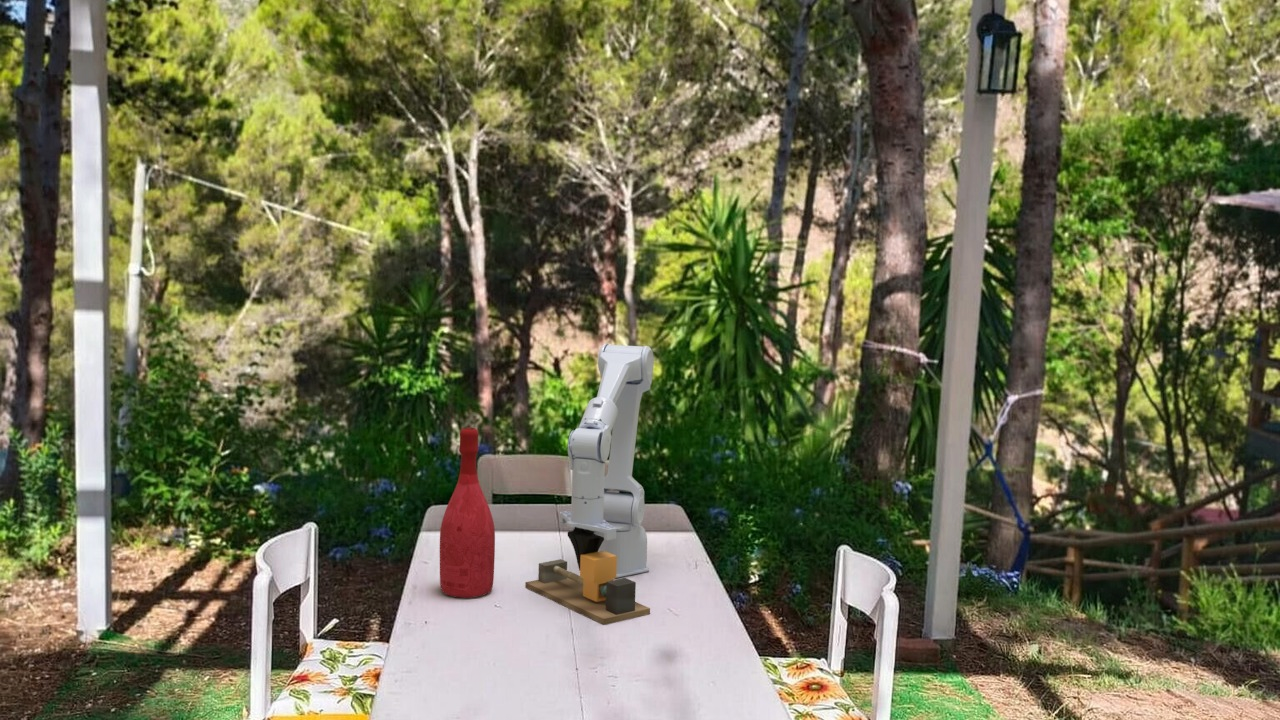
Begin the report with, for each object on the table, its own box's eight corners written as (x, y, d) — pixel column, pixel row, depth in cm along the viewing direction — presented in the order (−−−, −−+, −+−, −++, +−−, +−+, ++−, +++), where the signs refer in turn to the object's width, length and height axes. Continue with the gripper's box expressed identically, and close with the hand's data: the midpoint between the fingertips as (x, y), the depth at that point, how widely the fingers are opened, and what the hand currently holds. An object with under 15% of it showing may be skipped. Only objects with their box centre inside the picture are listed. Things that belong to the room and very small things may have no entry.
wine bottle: (503, 587, 206) (506, 426, 202) (478, 603, 196) (481, 434, 193) (455, 580, 209) (457, 421, 206) (429, 595, 200) (430, 429, 196)
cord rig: (525, 587, 206) (526, 555, 205) (569, 578, 212) (570, 547, 211) (603, 624, 187) (604, 590, 187) (650, 613, 194) (651, 580, 193)
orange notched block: (579, 596, 197) (580, 554, 196) (602, 591, 200) (603, 550, 199) (592, 602, 194) (594, 560, 193) (615, 597, 197) (617, 556, 196)
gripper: (545, 490, 201) (544, 564, 202) (593, 506, 190) (591, 584, 191) (578, 485, 205) (576, 558, 207) (626, 501, 194) (624, 577, 196)
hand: (585, 570), depth 199 cm, fingers closed
